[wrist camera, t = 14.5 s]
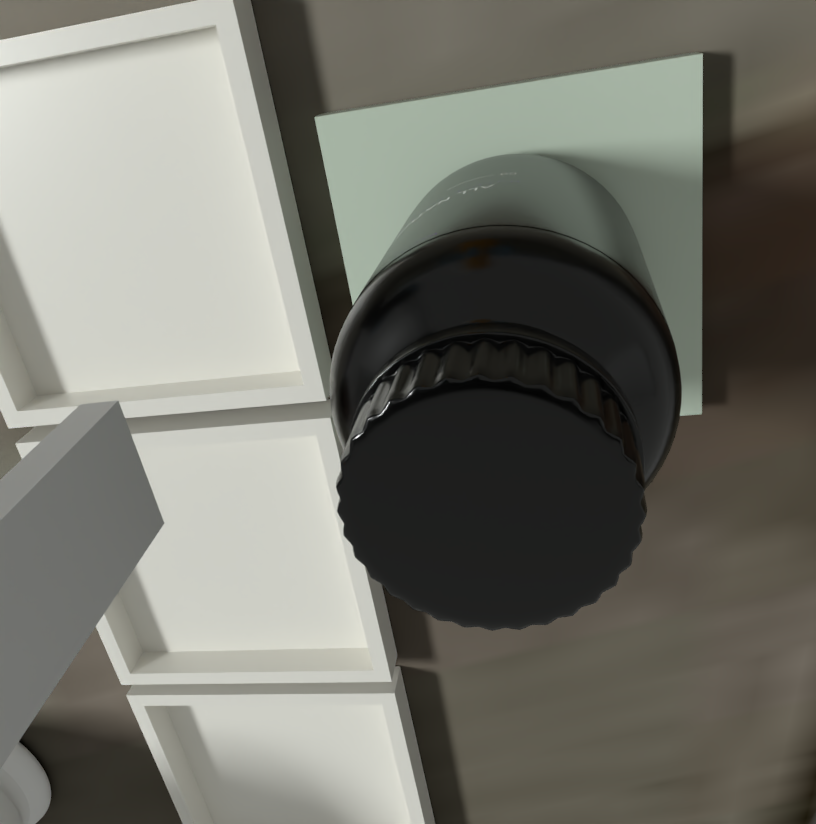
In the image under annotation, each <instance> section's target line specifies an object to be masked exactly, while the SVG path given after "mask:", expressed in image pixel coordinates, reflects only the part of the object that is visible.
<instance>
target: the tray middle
mask: <svg viewBox="0 0 816 824" xmlns="http://www.w3.org/2000/svg"><path fill="white" fill-rule="evenodd" d="M125 419H126V422H127V425H128V427H129V430H130V433H131V435H132V438H133V441H134V443H135V446H136V449H137V451H138V454H139V457H140V459H141V462H142V465H143V467H144V470H145V473H146V475H147V478H148V481H149V483H150V486H151V489H152V491H153V494H154V497H155V499H156V502H157V505H158V507H159V510H160V513H161V515H162V518H163V521H164V525H163V526H162V528H161V529H160V531H159V532H158V534H157V535H156V537H155V538H154V540H153V541H152V543H151V544H150V546H149V547H148V549H147V550H146V552H145V553H144V555H143V556H142V558H141V559H140V561H139V562H138V564H137V565H136V567H135V568H134V570H133V571H132V573H131V574H130V576H129V577H128V579H127V580H126V582H125V583H124V585H123V586H122V588H121V589H120V591H119V592H118V594H117V595H116V597H115V598H114V600H113V601H112V603H111V604H110V606H109V607H108V609H107V610H106V612H105V613H104V615H103V616H102V618H101V619H100V621H99V622H98V624H97V625H96V628H97V630H98V633H99V635H100V637H101V639H102V642H103V644H104V646H105V649H106V651H107V653H108V655H109V658H110V660H111V662H112V664H113V667H114V669H115V671H116V673H117V676H118V678H119V680H120V683H121V685H151V684H244V683H337V682H392V679H393V674H394V669H395V665H396V660H397V650H396V646H395V642H394V637H393V633H392V628H391V624H390V619H389V615H388V610H387V606H386V601H385V597H384V592H383V588H382V584H381V583H379V582H377V581H375V580H374V579H372V578H371V577H370V575H369V573H368V571H367V568H366V566H365V565H363V564H362V563H361V562H360V561H358V560H357V559H356V558H355V556H354V552H353V546H352V545H351V543H350V542H349V541H348V540H347V539H346V538H345V536H344V535H343V528H344V523H343V521H342V520H341V518H340V516H339V514H338V512H337V506H338V502H339V498H340V497H339V495H338V492H337V489H336V481H337V478H338V475H339V473H340V471H341V464H340V459H341V455H342V452H343V447H342V445H341V443H340V440H339V437H338V434H337V431H336V428H335V425H334V420H333V416H332V411H331V403H330V399H327V400H326V401H318V402H307V403H295V404H284V405H272V406H261V407H249V408H238V409H226V410H215V411H203V412H192V413H180V414H169V415H157V416H146V417H134V418H125ZM58 425H59V424H53V425H42V426H35V427H34V428H33V429H32V430H31V431H30V432H28V433H27V434H26V435H25V436H24V437H22V438H21V439H20V440H19V441H18V442H17V443H15V444H16V446H17V449H18V451H19V453H20V456H21V458H22V459H23V458H24V457H25V456H26V455H27V454H28V453H29V452H30V451H31V450H32V449H33V448H35V447H36V446H37V445H38V444H39V443H40V442H41V441H42V440H43V439H44V438H45V437H46V436H47V435H48V434H49V433H50V432H52V431H53V430H54V429H55V428H56V427H57V426H58Z"/></svg>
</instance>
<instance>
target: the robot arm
mask: <svg viewBox="0 0 816 824" xmlns="http://www.w3.org/2000/svg"><path fill="white" fill-rule="evenodd" d="M163 525H164V521H163V518H162V515H161V513H160V510H159V507H158V505H157V502H156V499H155V497H154V494H153V491H152V489H151V486H150V483H149V481H148V478H147V475H146V473H145V470H144V467H143V465H142V462H141V459H140V457H139V454H138V451H137V449H136V446H135V443H134V441H133V438H132V435H131V433H130V430H129V427H128V425H127V422H126V419H125V417H124V414H123V411H122V409H121V406H120V403H119V401H107V402H97V403H87V404H80V405H79V406H78V407H77V408H76V409H75V410H74V411H73V412H72V413H71V414H70V415H69V416H68V417H66V418H65V419H64V420H63V421H62V422H61V423H60V424H59V425H58V426H57V427H56V428H55V429H54V430H53V431H52V432H50V433H49V434H48V435H47V436H46V437H45V438H44V439H43V440H42V441H41V442H40V443H39V444H38V445H37V446H36V447H35V448H33V449H32V450H31V451H30V452H29V453H28V454H27V455H26V456H25V457H24V458H23V459H22V460H21V461H20V462H19V463H17V464H16V465H15V466H14V467H13V468H12V469H11V470H10V471H9V472H8V473H7V474H6V475H5V476H4V477H3V478H2V479H0V769H1V767H2V766H3V764H4V763H5V761H6V760H7V758H8V757H9V755H10V754H11V752H12V751H13V749H14V748H15V746H16V745H17V743H18V742H19V740H20V739H21V737H22V736H23V734H24V733H25V731H26V730H27V728H28V727H29V725H30V724H31V722H32V721H33V719H34V718H35V716H36V715H37V713H38V712H39V710H40V709H41V707H42V706H43V704H44V703H45V701H46V700H47V698H48V697H49V695H50V694H51V693H52V691H53V690H54V688H55V687H56V685H57V684H58V682H59V681H60V679H61V678H62V676H63V675H64V673H65V672H66V670H67V669H68V667H69V666H70V664H71V663H72V661H73V660H74V658H75V657H76V655H77V654H78V652H79V651H80V649H81V648H82V646H83V645H84V643H85V642H86V640H87V639H88V637H89V636H90V634H91V633H92V631H93V630H94V628H95V627H96V625H97V624H98V622H99V621H100V619H101V618H102V616H103V615H104V613H105V612H106V610H107V609H108V607H109V606H110V604H111V603H112V601H113V600H114V598H115V597H116V595H117V594H118V592H119V591H120V589H121V588H122V586H123V585H124V583H125V582H126V580H127V579H128V577H129V576H130V574H131V573H132V571H133V570H134V568H135V567H136V565H137V564H138V562H139V561H140V559H141V558H142V556H143V555H144V553H145V552H146V550H147V549H148V547H149V546H150V544H151V543H152V541H153V540H154V538H155V537H156V535H157V534H158V532H159V531H160V529H161V528H162V526H163Z"/></svg>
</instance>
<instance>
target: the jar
mask: <svg viewBox="0 0 816 824" xmlns="http://www.w3.org/2000/svg"><path fill="white" fill-rule="evenodd" d="M50 801H51V787H50V783H49V780H48V777H47V775H46V773H45V771H44V769H43V768H42V766H41V765H40V763H39V762H38V760H37V759H36V758H35V757H34V756H33V755H32V754H31V752H30V751H29V750H28V749H27V748H26V747H24V746H23V745H22V744H21V743H20V742H18V743H17V745H16V746H15V748H14V749H13V751H12V752H11V754H10V755H9V757H8V758H7V760H6V761H5V763H4V764H3V766H2V767H1V769H0V824H36V823H37V822H38V821H39V820H40V819H41V818H42V817H43V816H44V814H45V813H46V811H47V810H48V808H49V805H50Z"/></svg>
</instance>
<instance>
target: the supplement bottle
mask: <svg viewBox="0 0 816 824" xmlns="http://www.w3.org/2000/svg"><path fill="white" fill-rule="evenodd" d="M681 402H682V384H681V374H680V367H679V361H678V357H677V352H676V348H675V344H674V341H673V338H672V335H671V332H670V329H669V326H668V323H667V320H666V318H665V315H664V312H663V309H662V306H661V304H660V301H659V298H658V295H657V292H656V290H655V287H654V284H653V281H652V279H651V276H650V273H649V270H648V268H647V265H646V262H645V259H644V256H643V254H642V251H641V248H640V245H639V243H638V240H637V237H636V235H635V233H634V230H633V228H632V226H631V224H630V222H629V220H628V218H627V216H626V214H625V213H624V211H623V209H622V208H621V206H620V205H619V204H618V202H617V201H616V200H615V198H614V197H613V196H612V195H611V194H610V193H609V192H608V191H607V190H606V188H605V187H604V186H602V185H601V184H600V183H599V182H598V181H597V180H595V179H594V178H593V177H591V176H590V175H588V174H587V173H585V172H584V171H582V170H580V169H578V168H576V167H575V166H573V165H570V164H568V163H565V162H563V161H560V160H557V159H554V158H550V157H546V156H540V155H533V154H506V155H498V156H494V157H489V158H485V159H482V160H479V161H476V162H473V163H471V164H469V165H466V166H464V167H462V168H460V169H459V170H457V171H455V172H453V173H452V174H450V175H449V176H447V177H446V178H444V179H443V180H442V181H440V182H439V183H438V184H437V185H436V186H435V187H433V188H432V189H431V190H430V191H429V192H428V193H427V194H426V195H425V197H424V198H423V199H422V200H421V201H420V203H419V204H418V205H417V206H416V208H415V209H414V211H413V212H412V213H411V215H410V216H409V217H408V219H407V221H406V222H405V224H404V225H403V227H402V228H401V230H400V232H399V233H398V235H397V236H396V238H395V239H394V241H393V243H392V244H391V246H390V247H389V249H388V250H387V252H386V254H385V255H384V257H383V258H382V260H381V262H380V263H379V265H378V266H377V268H376V269H375V271H374V273H373V274H372V276H371V277H370V279H369V280H368V282H367V284H366V285H365V287H364V288H363V290H362V291H361V293H360V295H359V296H358V298H357V300H356V301H355V303H354V305H353V306H352V308H351V310H350V312H349V314H348V316H347V318H346V320H345V322H344V324H343V327H342V329H341V331H340V334H339V337H338V340H337V342H336V345H335V349H334V353H333V358H332V362H331V371H330V403H331V411H332V416H333V420H334V425H335V428H336V431H337V434H338V437H339V440H340V443H341V445H342V447H343V452H342V455H341V459H340V464H341V471H340V473H339V475H338V478H337V481H336V489H337V492H338V495H339V497H340V498H339V502H338V506H337V512H338V514H339V516H340V518H341V520H342V521H343V523H344V528H343V535H344V536H345V538H346V539H347V540H348V541H349V542H350V543H351V545H352V546H353V552H354V556H355V558H356V559H357V560H358V561H360V562H361V563H362V564H363V565H365V566H366V568H367V571H368V573H369V575H370V577H371V578H372V579H374V580H375V581H377V582H379V583H381V584H383V585H384V587H385V589H386V590H387V591H388V593H389V594H390V595H392V596H394V597H396V598H399V599H402V600H404V601H405V602H406V603H407V604H408V605H409V606H410V607H411V608H412V609H414V610H418V611H422V612H426V613H428V614H429V615H431V616H432V617H434V618H435V619H437V620H440V621H452V622H454V623H456V624H458V625H460V626H463V627H482V628H485V629H488V630H492V631H493V630H498V629H501V628H511V629H518V630H520V629H523V628H526V627H528V626H530V625H547V624H549V623H551V622H552V621H554V620H555V619H557V618H560V617H567V616H573V615H574V614H575V613H576V612H577V611H578V610H579V609H580V608H581V607H583V606H587V605H590V604H593V603H596V602H597V600H598V599H599V598H600V595H601V594H602V593H603V592H604V591H606V590H608V589H611V588H612V587H614V586H616V584H617V581H618V578H619V574H620V573H621V572H622V571H624V570H626V569H627V568H628V567H629V566H630V565H631V563H632V555H633V551H634V550H635V549H636V548H637V546H638V545H639V544H640V542H641V540H642V529H641V525H642V523H643V522H644V519H645V517H646V514H647V507H646V501H645V495H644V491H645V489H646V488H647V487H648V486H649V484H650V483H651V482H652V481H653V479H654V478H655V476H656V475H657V473H658V471H659V470H660V468H661V467H662V465H663V463H664V461H665V459H666V457H667V455H668V453H669V451H670V449H671V446H672V443H673V441H674V438H675V434H676V430H677V426H678V423H679V418H680V410H681Z"/></svg>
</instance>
